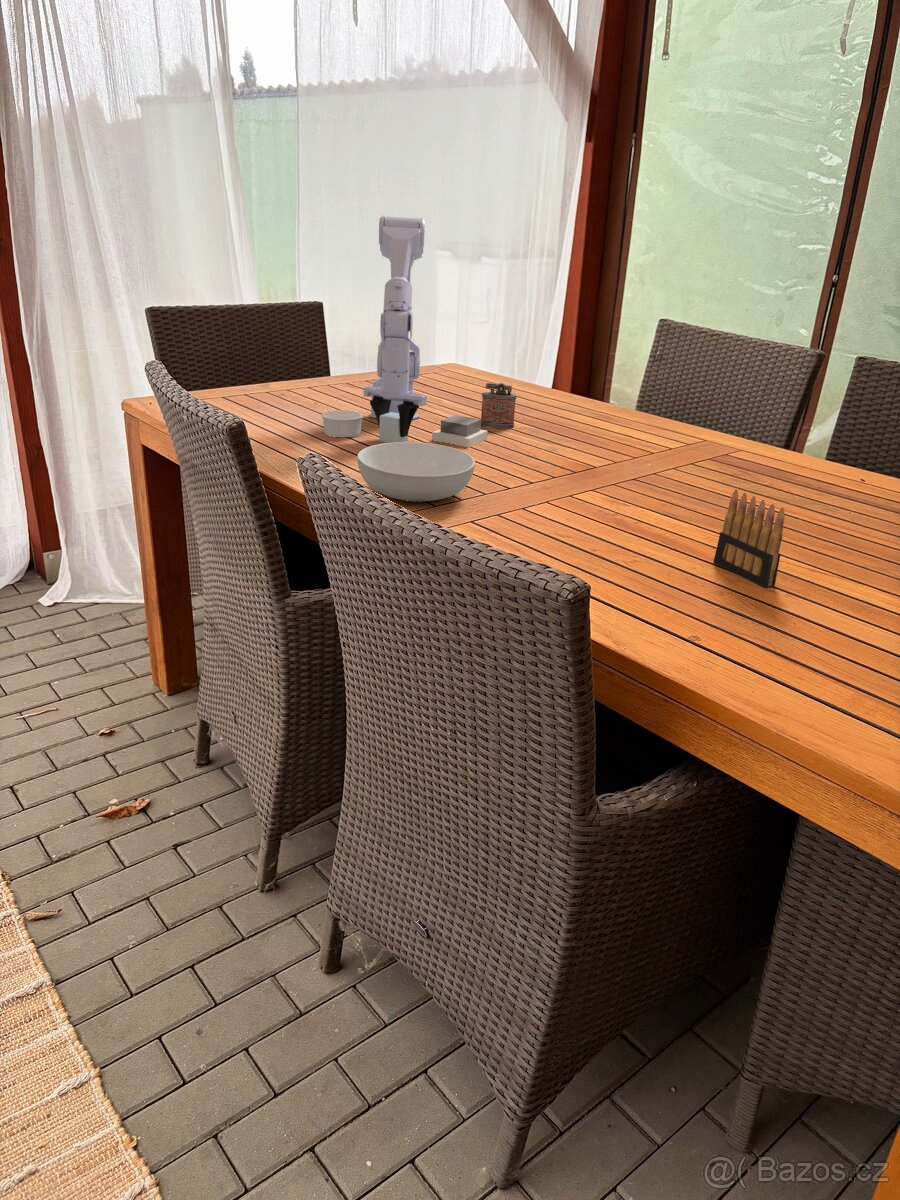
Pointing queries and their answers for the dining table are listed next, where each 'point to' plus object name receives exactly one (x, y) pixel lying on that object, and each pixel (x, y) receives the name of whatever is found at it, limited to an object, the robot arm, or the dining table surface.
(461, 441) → the base slab
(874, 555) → the dining table surface
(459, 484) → the serving bowl
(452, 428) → the gray slab
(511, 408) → the lighter
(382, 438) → the gray block
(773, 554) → the ammunition clip
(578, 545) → the dining table surface
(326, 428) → the ramekin
